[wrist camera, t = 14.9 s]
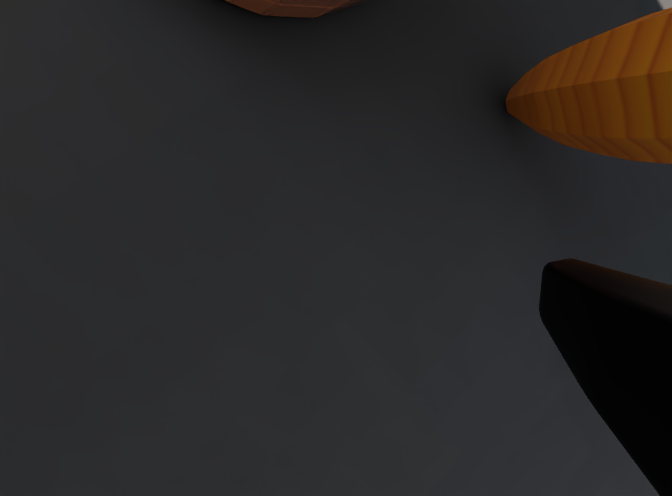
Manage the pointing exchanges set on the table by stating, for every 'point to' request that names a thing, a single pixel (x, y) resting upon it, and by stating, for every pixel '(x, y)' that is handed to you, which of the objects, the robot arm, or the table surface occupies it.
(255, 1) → the bowl
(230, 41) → the table surface
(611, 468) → the table surface
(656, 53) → the carrot
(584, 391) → the robot arm
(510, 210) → the table surface
